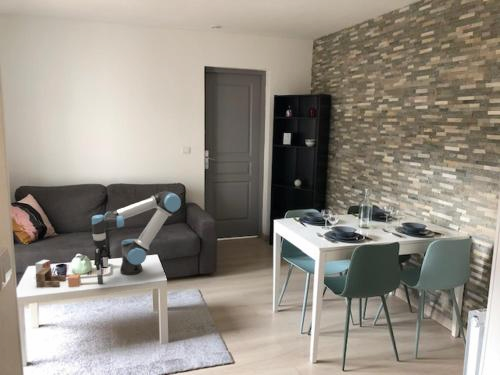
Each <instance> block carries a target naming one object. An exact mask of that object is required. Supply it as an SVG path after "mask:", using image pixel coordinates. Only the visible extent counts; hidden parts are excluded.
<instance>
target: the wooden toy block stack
mask: <svg viewBox="0 0 500 375" xmlns="http://www.w3.org/2000/svg"><path fill="white" fill-rule="evenodd" d="M66 281H67V275H53V272H52V267H51V268H43V269H42V270H40V271H39V272H38V273H36V272H35V283H36V288H60V286H61V284H60V283H61V282H66Z"/></svg>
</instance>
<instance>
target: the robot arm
mask: <svg viewBox="0 0 500 375" xmlns="http://www.w3.org/2000/svg"><path fill="white" fill-rule="evenodd" d="M181 205H182V201H181V198H180V196H179V195H177V194H176V193H174V192H171V191H170V190H164V191H161V192H158V193H156V194H153V195H151V197H148V198H146V199H144V200H140V201H138V202H135V203H132V204H129V205H127V206H124V207H121V208H118V209H115V210H113V211H107V212H106V213H104V215H103V214H96V215H93V216H92V217H91V227H92V234H91V236H92V237H93V238H92V239H93V247H94V246H95V247H96V248H95V249H94V262H93V265H94V266H95V270H96V275H101V268H102V265H103V268H104V267H105V268H107V267H109V262H108V260H109V259H108V257H109V252H108V249H107V239H106V238H107V234H106V230H109V229H110V230H111V229H117V228H118V229H119V228H122V227H124V226H125V219H128V218H131V217H134V216H136V215H138V214H141V213H144V212H147V211H150V210H153V209H157V210H156V211H155V213H153V215H152V217H151V219H150V221H148V223H147V225H146V226H145V228H144V229H143V231H142V232H141V233H140V235H139V237H138V238H128V239H124V240H122V241H121V261H122V262H121V264H120V269H119V272H120V274H121V275H125V276H134V275H137V274H140V273H142V272H143V265H142V264H143V263H144V262H145V261H146V259H147V253H148V252H149V250H150V244H151V243H152V242H153V240H154V238H156V235H157V234H158V233H159V231H160V230H161V228H162V227H163V225H164V224H165V222H166V220H167V219H168V217H171V216H173V213H174V212H177V211H178V210H179V209H180V207H181ZM101 259H102V263H103V264H102V265H101Z"/></svg>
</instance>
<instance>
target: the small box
mask: <svg viewBox="0 0 500 375" xmlns="http://www.w3.org/2000/svg"><path fill="white" fill-rule="evenodd" d="M34 264H35V274H36V273H38V272H39V271H40V270H42V269H43V268H51V269H52V266H51V260H49V259H42V260H39V261H37V262H35V263H34Z"/></svg>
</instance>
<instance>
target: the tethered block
mask: <svg viewBox="0 0 500 375" xmlns="http://www.w3.org/2000/svg"><path fill="white" fill-rule="evenodd" d="M103 274H104V273H103V268H102V267H101V275H97V274H96V275H97V281H88V282H87V281H85V282H83V281H82V280H81V274H79V273H78V274H76V273H75V274H70V275H69V276H68V278H67V285H68V288H74V287H79V286H80V285H92V284H94V285H95V284H97V285H103V284H104V277H103ZM81 281H82V282H81Z"/></svg>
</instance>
